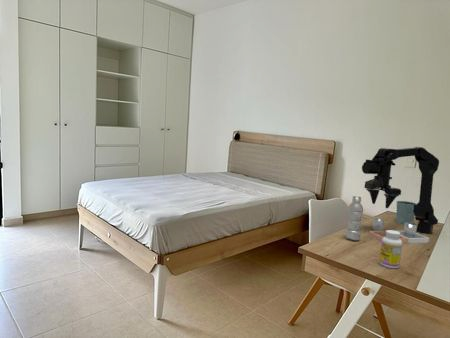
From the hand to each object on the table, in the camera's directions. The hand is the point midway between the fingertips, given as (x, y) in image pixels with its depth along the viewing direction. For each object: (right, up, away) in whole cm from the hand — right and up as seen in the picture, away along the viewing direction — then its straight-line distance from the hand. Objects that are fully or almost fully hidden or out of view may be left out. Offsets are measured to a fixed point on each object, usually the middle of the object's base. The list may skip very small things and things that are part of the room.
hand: (380, 205), depth 153 cm
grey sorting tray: (+5, -16, -7) cm, 18 cm away
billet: (+11, -15, -5) cm, 19 cm away
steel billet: (+2, -14, +7) cm, 16 cm away
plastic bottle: (-17, -15, -8) cm, 24 cm away
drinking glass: (+28, -13, +28) cm, 42 cm away
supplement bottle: (-15, -18, -37) cm, 43 cm away
